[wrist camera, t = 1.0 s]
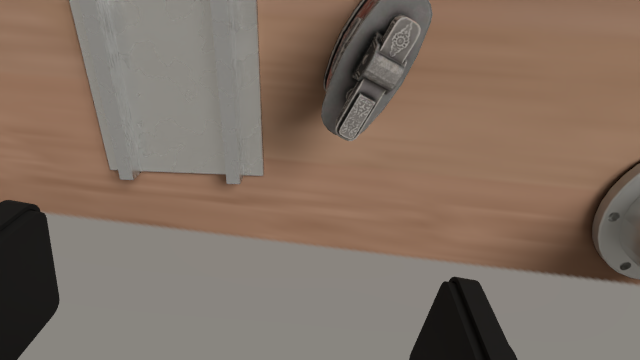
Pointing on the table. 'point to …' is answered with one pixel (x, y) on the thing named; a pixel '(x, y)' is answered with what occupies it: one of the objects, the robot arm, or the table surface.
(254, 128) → the track
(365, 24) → the lighter
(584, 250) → the table surface
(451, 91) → the table surface
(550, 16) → the table surface
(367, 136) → the table surface
